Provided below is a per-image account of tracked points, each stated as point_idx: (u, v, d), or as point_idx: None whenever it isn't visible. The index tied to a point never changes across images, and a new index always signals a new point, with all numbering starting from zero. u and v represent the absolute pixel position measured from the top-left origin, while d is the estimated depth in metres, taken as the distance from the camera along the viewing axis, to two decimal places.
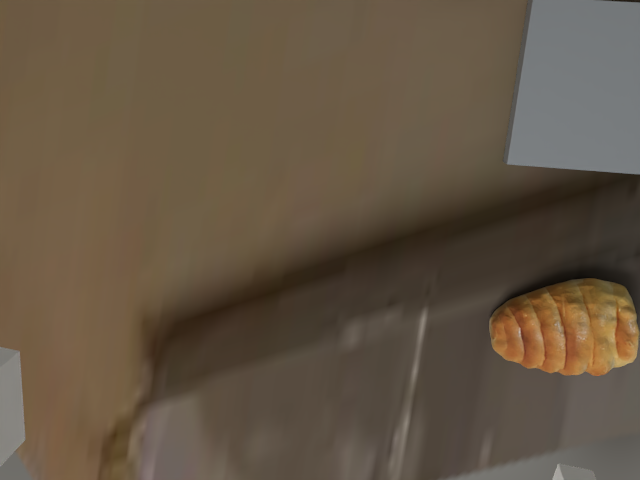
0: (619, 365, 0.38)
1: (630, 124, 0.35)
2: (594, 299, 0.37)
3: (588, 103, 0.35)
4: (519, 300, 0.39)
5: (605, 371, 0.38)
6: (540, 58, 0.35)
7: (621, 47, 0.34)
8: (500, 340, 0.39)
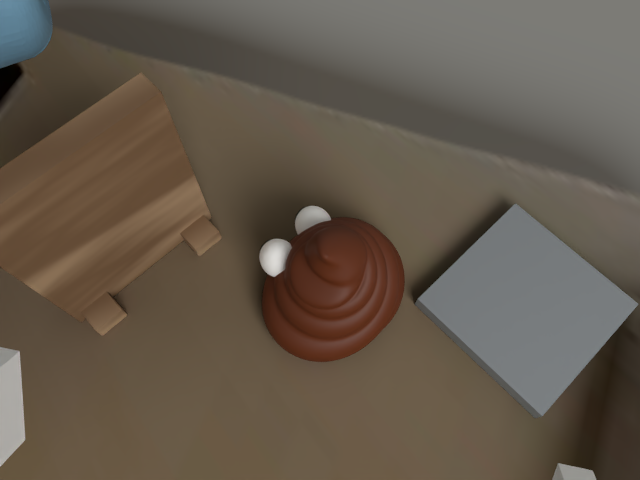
0: None
1: (572, 301, 0.36)
2: None
3: (531, 318, 0.36)
4: None
5: None
6: (468, 326, 0.36)
7: (503, 269, 0.37)
8: None
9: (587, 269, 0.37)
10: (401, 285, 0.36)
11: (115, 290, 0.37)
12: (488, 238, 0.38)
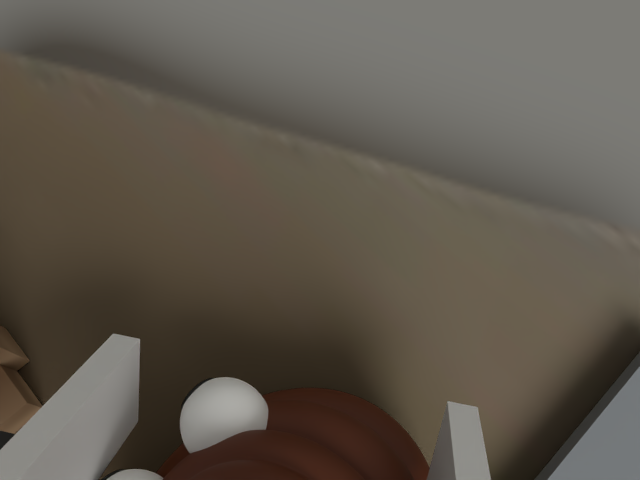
0: None
1: None
2: None
3: None
4: None
5: None
6: None
7: None
8: None
9: None
10: None
11: None
12: (615, 418, 0.17)
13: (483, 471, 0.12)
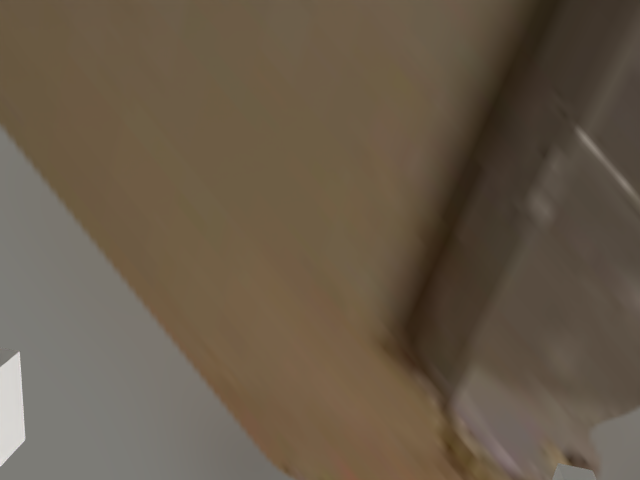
0: None
1: None
2: None
3: None
4: None
5: None
6: None
7: None
8: None
9: None
10: None
11: None
12: None
13: None
